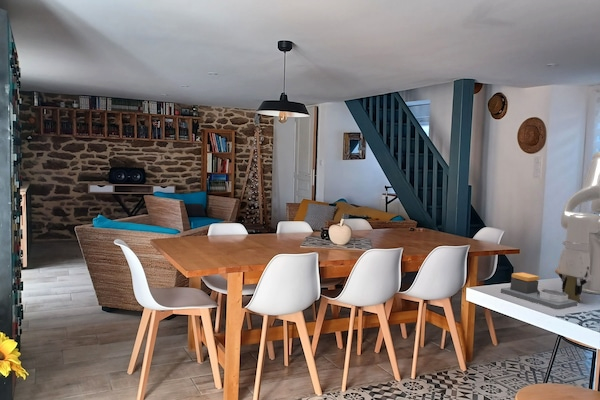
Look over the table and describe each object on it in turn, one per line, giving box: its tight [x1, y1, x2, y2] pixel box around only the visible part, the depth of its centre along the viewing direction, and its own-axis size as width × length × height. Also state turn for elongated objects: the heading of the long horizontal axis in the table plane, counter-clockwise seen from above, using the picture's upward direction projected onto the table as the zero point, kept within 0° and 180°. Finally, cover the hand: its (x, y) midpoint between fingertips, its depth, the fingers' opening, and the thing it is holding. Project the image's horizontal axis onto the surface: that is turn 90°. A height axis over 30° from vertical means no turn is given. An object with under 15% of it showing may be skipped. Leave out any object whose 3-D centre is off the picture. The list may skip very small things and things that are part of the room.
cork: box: [564, 275, 581, 302], centre depth 192 cm, size 6×6×11 cm
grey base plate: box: [500, 277, 578, 310], centre depth 190 cm, size 13×23×6 cm, turn 33°
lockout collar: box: [537, 288, 568, 303], centre depth 185 cm, size 10×10×2 cm
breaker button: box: [511, 271, 540, 281], centre depth 195 cm, size 7×7×4 cm
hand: (571, 292), depth 192 cm, fingers closed on cork, 4 cm apart
